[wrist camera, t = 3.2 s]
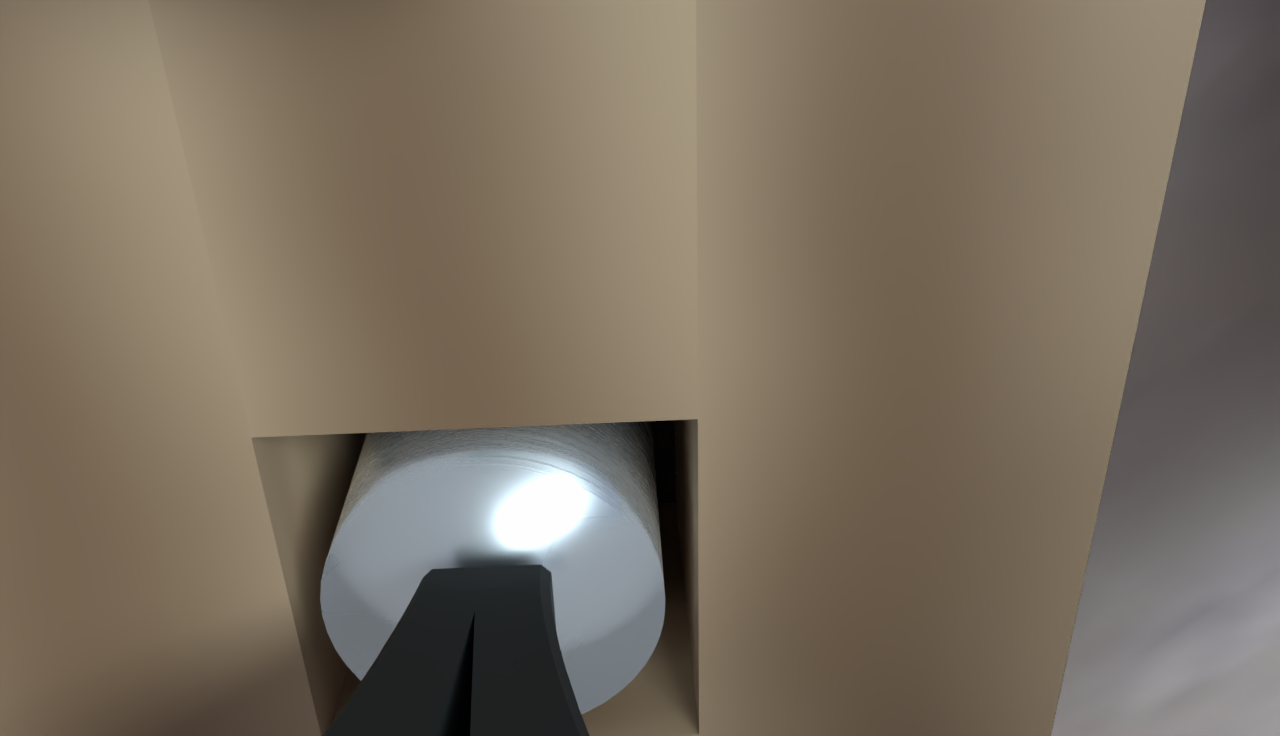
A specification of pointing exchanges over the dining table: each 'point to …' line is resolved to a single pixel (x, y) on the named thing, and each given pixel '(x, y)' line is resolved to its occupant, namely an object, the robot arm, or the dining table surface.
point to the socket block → (573, 330)
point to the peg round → (507, 537)
